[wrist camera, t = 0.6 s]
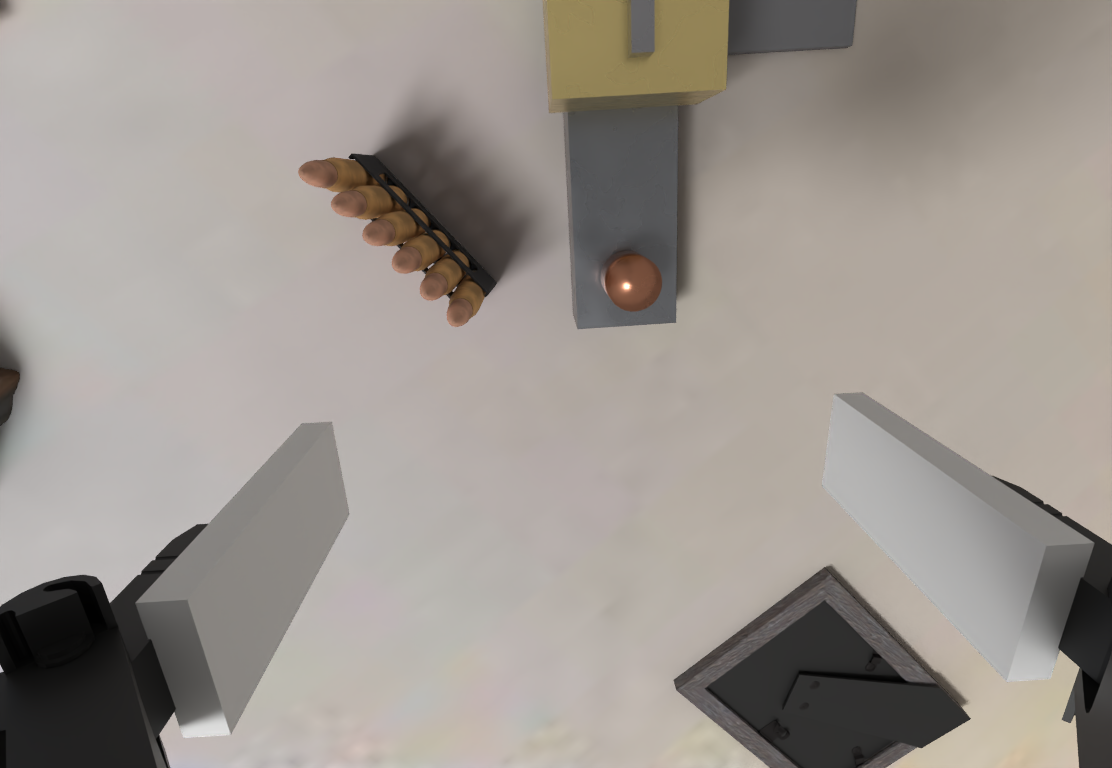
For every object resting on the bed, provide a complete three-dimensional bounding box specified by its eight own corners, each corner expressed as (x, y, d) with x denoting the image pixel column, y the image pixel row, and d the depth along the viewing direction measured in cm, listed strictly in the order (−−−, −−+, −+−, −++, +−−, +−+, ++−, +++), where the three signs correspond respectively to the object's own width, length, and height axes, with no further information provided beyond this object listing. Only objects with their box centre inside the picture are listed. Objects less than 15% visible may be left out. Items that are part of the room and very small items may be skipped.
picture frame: (955, 699, 52) (821, 563, 47) (971, 718, 50) (833, 578, 45) (812, 793, 55) (672, 675, 50) (822, 814, 53) (677, 694, 48)
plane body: (551, -125, 31) (559, -244, 22) (662, -131, 31) (712, -251, 22) (573, 315, 39) (584, 351, 30) (661, 309, 39) (698, 343, 30)
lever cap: (541, -18, 29) (543, -68, 23) (699, -27, 29) (739, -78, 23) (548, 112, 31) (552, 95, 25) (696, 104, 31) (733, 85, 25)
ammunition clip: (497, 283, 38) (482, 323, 26) (477, 302, 38) (454, 350, 27) (373, 154, 35) (297, 138, 24) (353, 176, 35) (268, 170, 24)
